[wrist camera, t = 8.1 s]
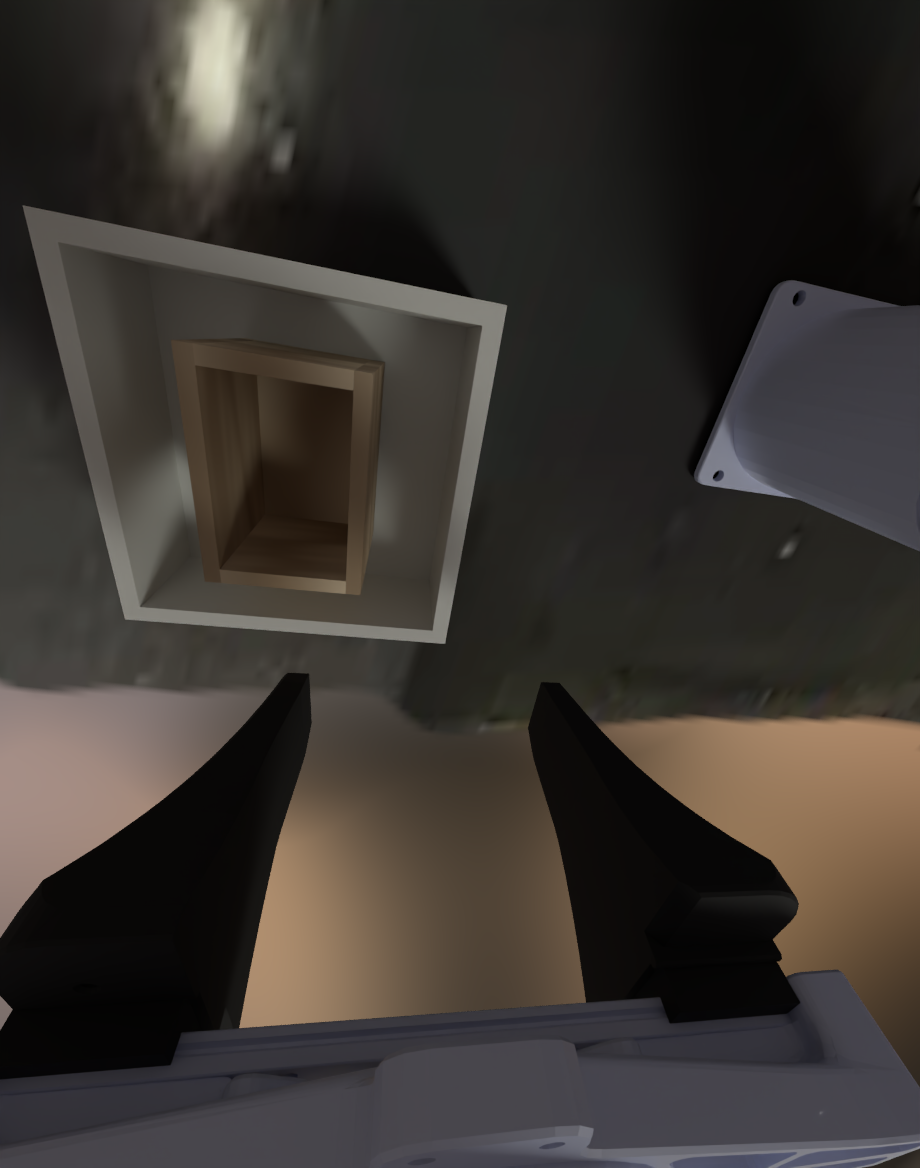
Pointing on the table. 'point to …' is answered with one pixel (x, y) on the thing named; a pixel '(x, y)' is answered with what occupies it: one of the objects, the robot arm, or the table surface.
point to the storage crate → (283, 316)
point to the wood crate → (281, 461)
